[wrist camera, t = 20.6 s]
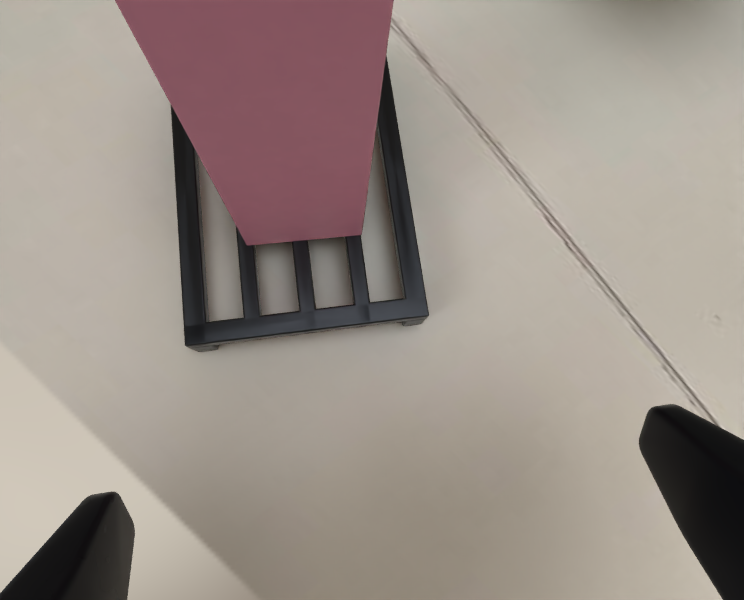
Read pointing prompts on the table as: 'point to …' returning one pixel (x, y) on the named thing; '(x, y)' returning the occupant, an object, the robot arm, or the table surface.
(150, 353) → the table surface
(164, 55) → the pink box
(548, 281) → the table surface
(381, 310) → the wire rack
